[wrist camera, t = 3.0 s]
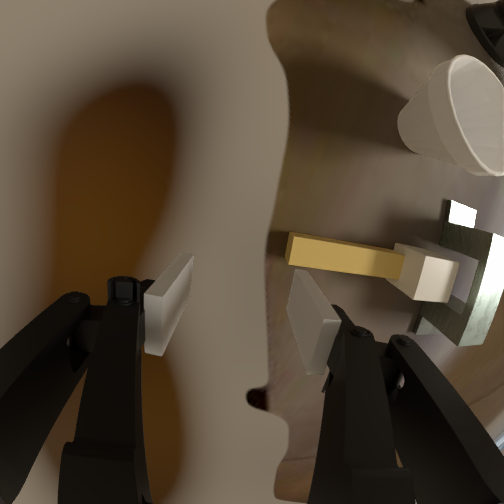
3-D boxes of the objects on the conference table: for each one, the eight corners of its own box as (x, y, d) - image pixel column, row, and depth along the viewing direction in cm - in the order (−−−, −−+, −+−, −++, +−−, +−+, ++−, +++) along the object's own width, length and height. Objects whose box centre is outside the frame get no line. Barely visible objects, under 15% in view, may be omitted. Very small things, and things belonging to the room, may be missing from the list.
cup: (460, 150, 28) (529, 147, 15) (410, 192, 30) (486, 201, 17) (418, 75, 26) (480, 44, 13) (360, 107, 27) (423, 70, 14)
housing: (447, 200, 30) (497, 207, 20) (472, 209, 30) (518, 219, 21) (412, 331, 35) (447, 366, 25) (438, 331, 35) (473, 362, 25)
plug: (291, 223, 31) (303, 233, 24) (428, 249, 32) (459, 262, 25) (283, 265, 32) (292, 286, 25) (418, 284, 33) (447, 302, 26)
